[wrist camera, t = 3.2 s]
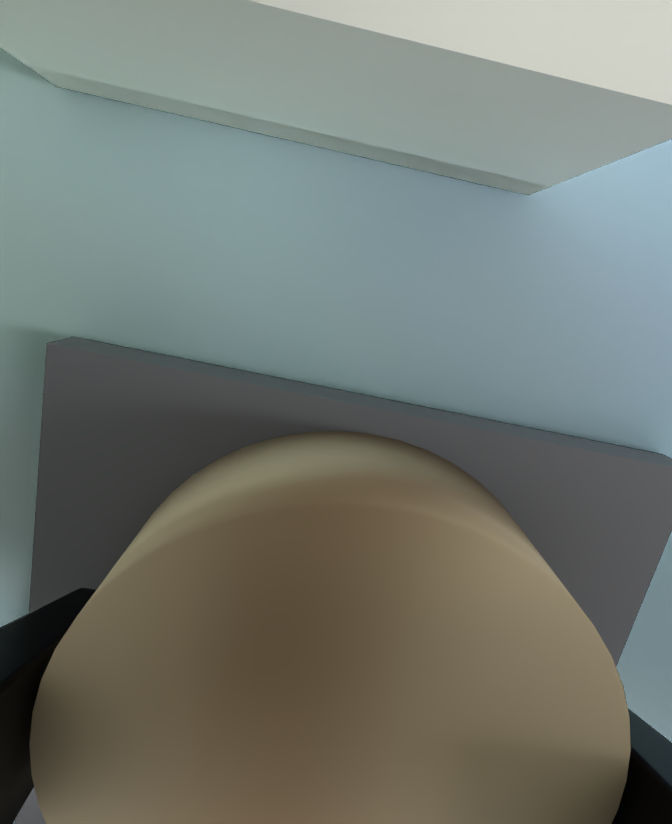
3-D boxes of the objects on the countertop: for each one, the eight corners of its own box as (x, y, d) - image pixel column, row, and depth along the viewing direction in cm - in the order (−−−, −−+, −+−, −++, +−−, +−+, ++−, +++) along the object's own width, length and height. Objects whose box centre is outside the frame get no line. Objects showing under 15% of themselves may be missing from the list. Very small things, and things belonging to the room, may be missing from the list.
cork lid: (595, 467, 8) (716, 553, 6) (489, 818, 10) (543, 1004, 7) (129, 397, 8) (32, 458, 5) (106, 776, 10) (26, 956, 7)
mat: (663, 454, 9) (695, 472, 8) (431, 1053, 13) (438, 1103, 12) (73, 337, 8) (47, 343, 7) (20, 1005, 12) (-1, 1055, 11)
